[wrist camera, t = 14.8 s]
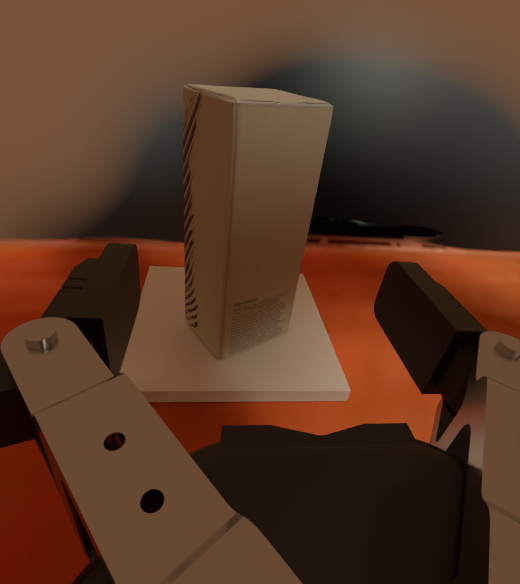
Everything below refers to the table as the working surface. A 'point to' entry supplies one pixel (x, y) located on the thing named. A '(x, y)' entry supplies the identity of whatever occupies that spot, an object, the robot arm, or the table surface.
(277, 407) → the table surface
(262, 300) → the box
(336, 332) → the table surface
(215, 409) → the table surface
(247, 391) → the board
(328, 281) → the table surface
